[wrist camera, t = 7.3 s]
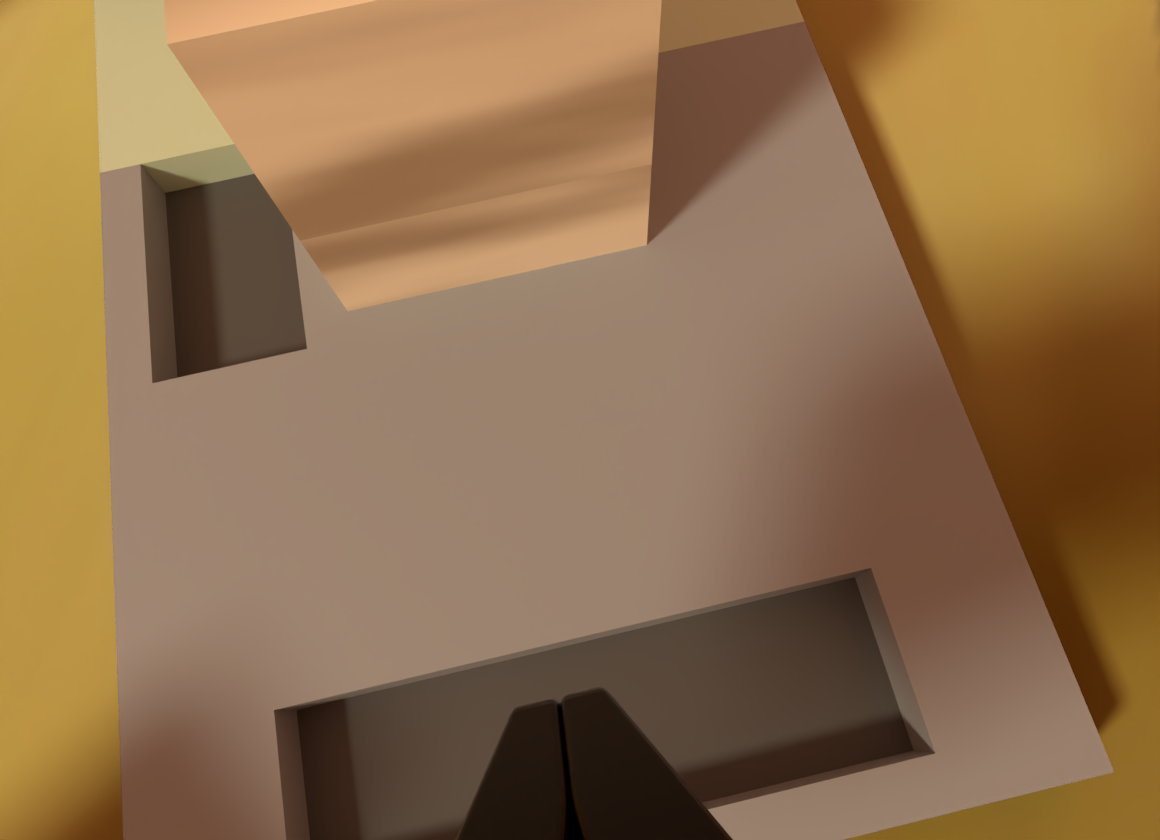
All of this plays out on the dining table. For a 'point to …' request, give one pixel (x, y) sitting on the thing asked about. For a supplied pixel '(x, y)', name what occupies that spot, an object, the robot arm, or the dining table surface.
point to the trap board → (568, 506)
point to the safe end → (196, 137)
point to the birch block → (435, 129)
